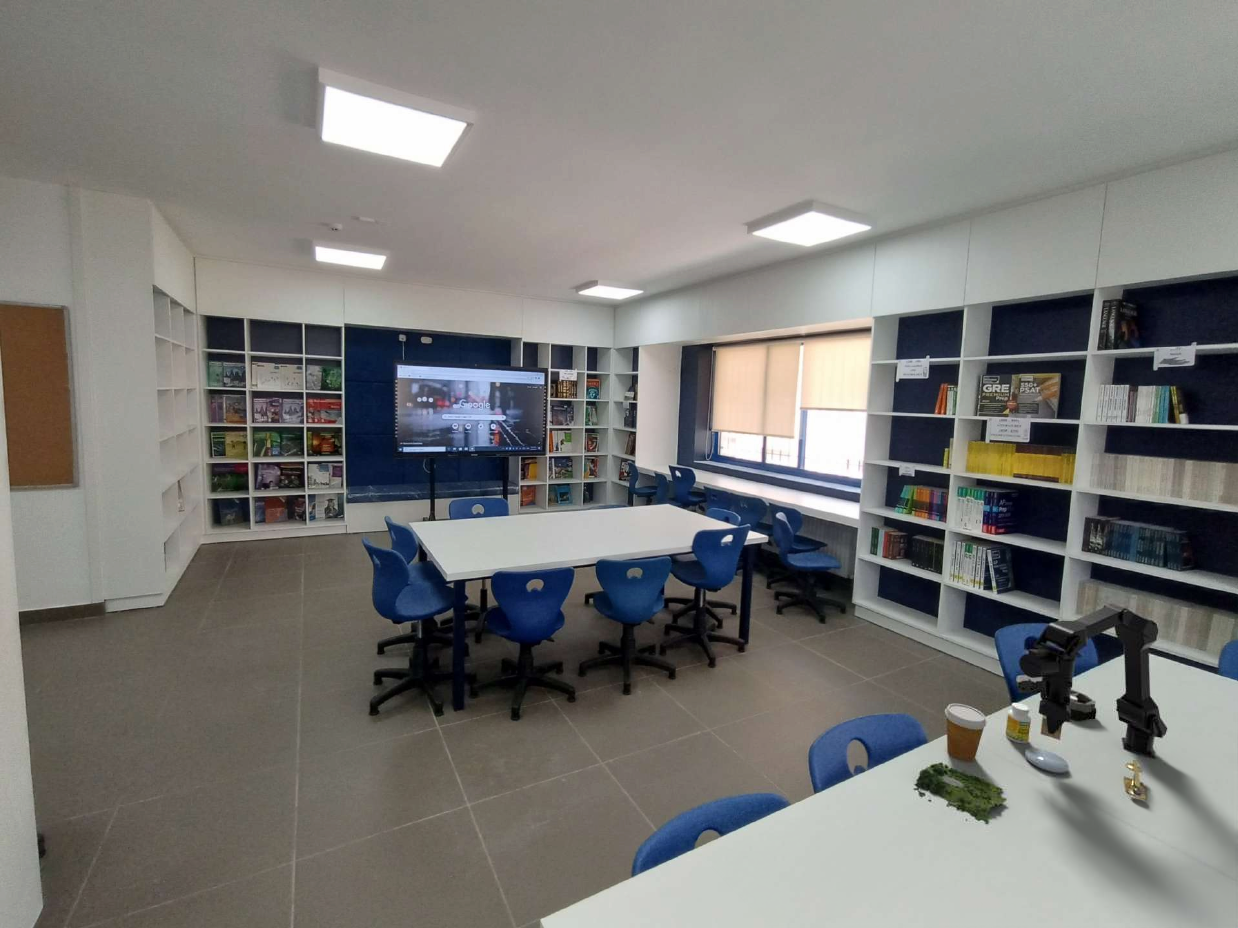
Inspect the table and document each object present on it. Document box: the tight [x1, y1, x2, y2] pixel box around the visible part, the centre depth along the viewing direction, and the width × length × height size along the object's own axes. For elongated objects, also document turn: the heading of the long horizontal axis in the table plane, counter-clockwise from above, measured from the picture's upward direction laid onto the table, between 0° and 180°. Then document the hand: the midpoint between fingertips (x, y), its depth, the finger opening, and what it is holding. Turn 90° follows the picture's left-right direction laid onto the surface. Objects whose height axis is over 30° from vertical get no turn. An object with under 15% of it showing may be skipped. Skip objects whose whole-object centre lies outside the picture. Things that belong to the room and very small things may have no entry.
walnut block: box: [1040, 715, 1063, 741], centre depth 147 cm, size 4×4×4 cm
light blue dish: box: [1024, 747, 1069, 774], centre depth 148 cm, size 9×9×2 cm
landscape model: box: [913, 762, 1007, 824], centre depth 135 cm, size 17×21×5 cm
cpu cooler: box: [1068, 689, 1097, 722], centre depth 175 cm, size 10×6×10 cm
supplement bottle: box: [1005, 702, 1032, 744], centre depth 159 cm, size 5×5×10 cm
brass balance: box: [1123, 759, 1147, 800], centre depth 140 cm, size 13×4×5 cm, turn 142°
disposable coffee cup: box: [944, 703, 987, 763], centre depth 150 cm, size 10×10×12 cm
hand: (1050, 729), depth 147 cm, fingers closed on walnut block, 4 cm apart
